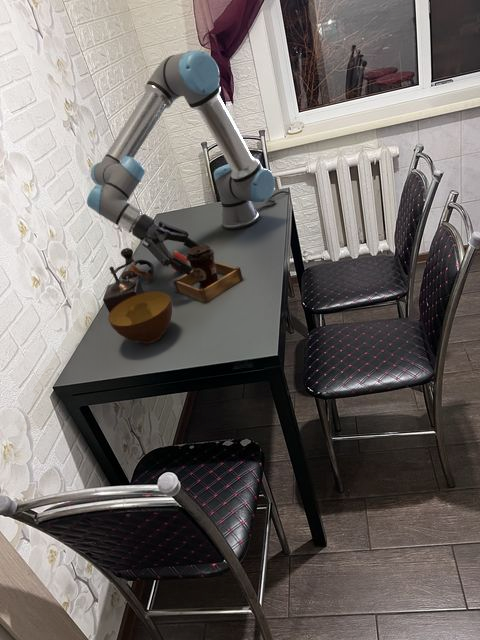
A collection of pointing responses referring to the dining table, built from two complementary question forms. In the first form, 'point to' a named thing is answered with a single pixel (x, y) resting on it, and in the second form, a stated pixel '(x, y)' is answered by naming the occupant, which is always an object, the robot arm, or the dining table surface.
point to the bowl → (142, 316)
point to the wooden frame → (214, 289)
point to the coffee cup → (203, 265)
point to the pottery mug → (139, 271)
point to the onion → (179, 256)
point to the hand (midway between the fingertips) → (197, 261)
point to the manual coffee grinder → (122, 284)
